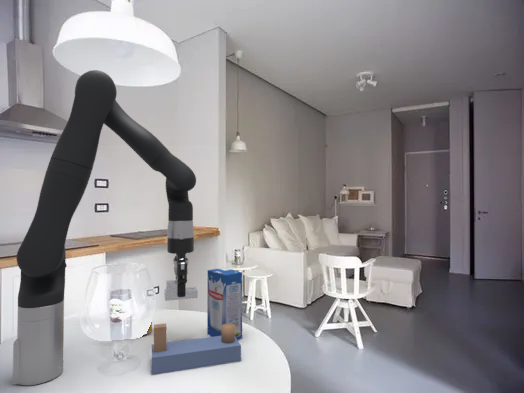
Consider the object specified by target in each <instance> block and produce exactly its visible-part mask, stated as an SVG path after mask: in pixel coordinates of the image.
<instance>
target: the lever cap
mask: <svg viewBox="0 0 524 393" xmlns="http://www.w3.org/2000/svg"><path fill="white" fill-rule="evenodd" d="M165 281H166V288H165V289H164V301H165V302H167V301H169V302H170V301H179V300H180V301H181V300H188V299H197V298H198V296H199V295H198V289H197V287H196V286H192V287H191V286H189V287H186V295H185V297H178V296H177V280H176V279H175V280H174V279H172V280H165Z"/></svg>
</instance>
